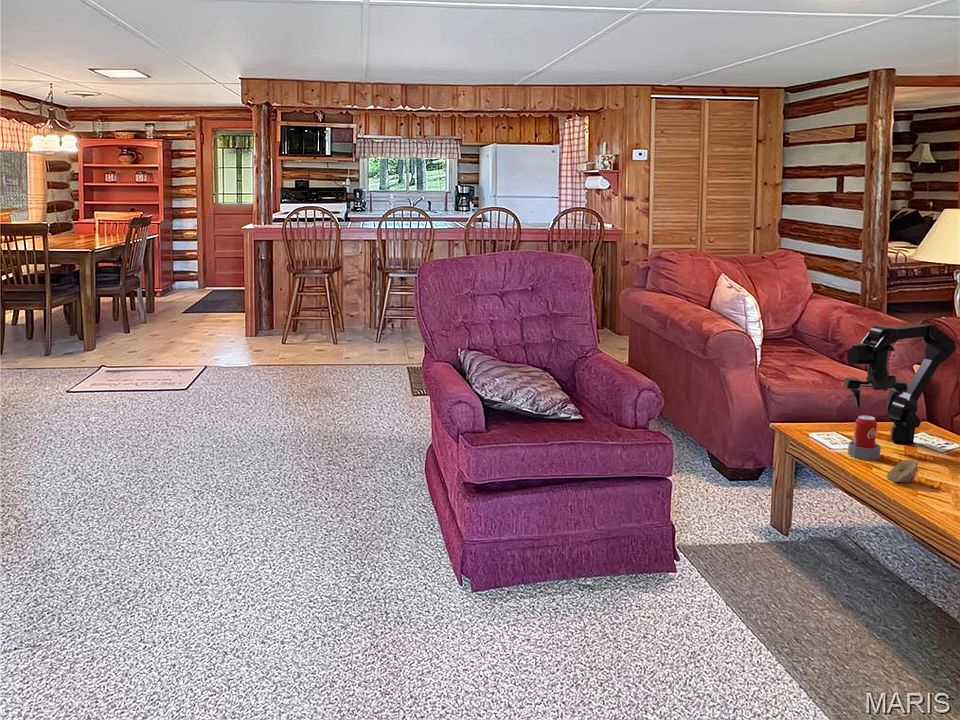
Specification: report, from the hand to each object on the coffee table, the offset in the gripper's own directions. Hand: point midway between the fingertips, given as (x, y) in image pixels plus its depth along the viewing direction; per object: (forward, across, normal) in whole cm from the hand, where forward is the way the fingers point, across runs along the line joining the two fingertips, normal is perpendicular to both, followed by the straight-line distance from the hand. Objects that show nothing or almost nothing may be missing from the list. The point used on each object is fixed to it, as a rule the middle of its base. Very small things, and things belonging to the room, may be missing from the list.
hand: (872, 409), depth 301 cm
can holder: (+12, -5, -15) cm, 20 cm away
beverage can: (+11, -5, -15) cm, 19 cm away
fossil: (+12, 0, -39) cm, 41 cm away
